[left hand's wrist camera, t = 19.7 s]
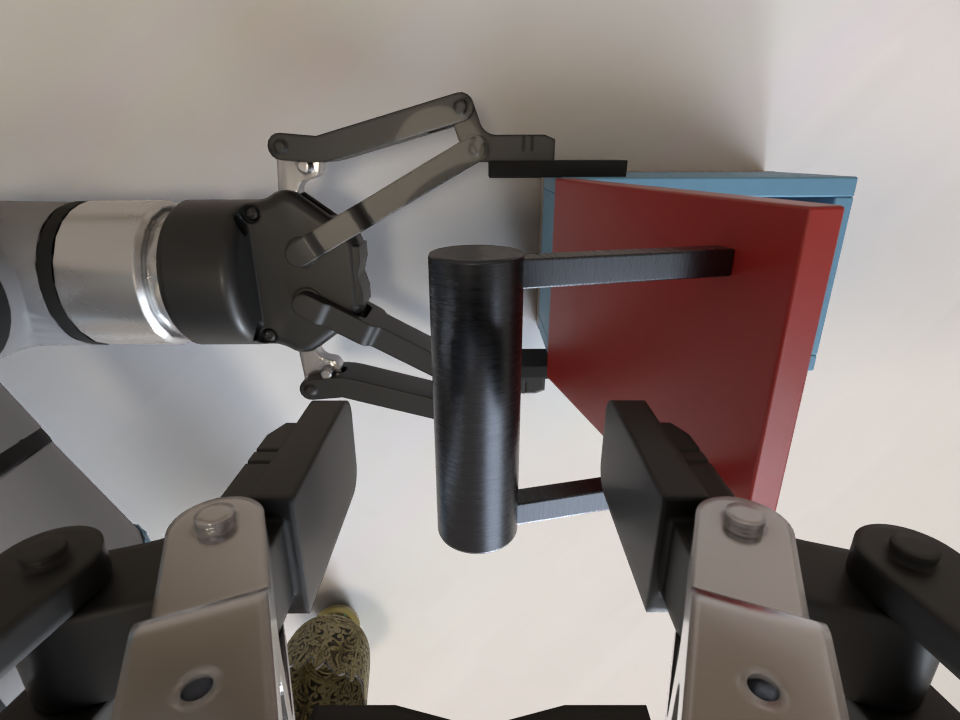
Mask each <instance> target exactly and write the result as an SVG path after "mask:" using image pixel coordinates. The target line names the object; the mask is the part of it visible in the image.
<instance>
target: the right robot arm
mask: <svg viewBox="0 0 960 720" xmlns="http://www.w3.org/2000/svg"><path fill="white" fill-rule="evenodd" d="M451 127H454V128H455V130H456V133H457V136H458V139H459V143H457V144H456V145H454V146H452V147H451V148H449V149H447V150H446V151H444V152H443V153H441V154H439V155H438V156H436V157H434V158H433V159H431V160H429V161H428V162H426V163H424V164H423V165H421V166H419V167H418V168H416V169H414V170H413V171H411V172H410V173H408V174H406V175H405V176H403V177H401V178H400V179H398V180H396V181H395V182H393V183H391V184H390V185H388V186H386V187H385V188H383V189H381V190H380V191H378V192H377V193H375V194H373V195H372V196H370V197H368V198H367V199H365V200H363V201H362V202H360V203H358V204H357V205H355V206H353V207H351V208H350V209H348V210H346V211H345V212H343V213H341V214H340V215H337V214H336V213H334V212H333V211H331V210H330V209H329V208H327V207H326V206H324V205H323V204H321V203H320V202H318V201H317V200H316V199H314V198H313V197H311V196H310V195H308V194H307V193H305V192H304V186H305V184H306V183H307V181H309V180H310V179H314V178H318V177H320V176H321V175H322V174H323V172H324V167H325V166H324V162H333V161H340V160H345V159H348V158H352V157H355V156H358V155H362V154H365V153H368V152H372V151H375V150H378V149H381V148H385V147H388V146H391V145H395V144H398V143H401V142H405V141H408V140H411V139H415V138H418V137H421V136H425V135H428V134H431V133H435V132H438V131H441V130H445V129H448V128H451ZM268 149H269V152H270V153H271V155H272V156H273V157H274V158H276V159H277V168H278V188H279V191H278V192H276V193H274V194H273V195H271V196H269V197H268V198H265V199H258V200H186V201H183V202H181V203H179V204H178V203H175V202H173V201H170V200H90V201H76V202H28V201H0V358H2V357H4V356H7V355H9V354H11V353H14V352H16V351H18V350H21V349H25V348H29V347H34V346H41V345H89V344H102V345H108V344H159V345H178V344H186V343H188V342H190V341H192V342H195V343H197V344H269V343H278V344H282V345H285V346H288V347H290V348H292V349H294V350H296V351H299V352H300V357H301V361H302V366H303V371H304V375H305V379H304V381H303V382H302V383H301V386H300V392H301V394H302V395H303V396H304V397H305V398H307V399H311V400H315V399H327V398H340V397H344V398H348V399H352V400H356V401H360V402H365V403H369V404H373V405H377V406H382V407H386V408H390V409H394V410H398V411H403V412H407V413H411V414H415V415H420V416H424V417H428V418H432V419H434V404H433V381H431V380H427V379H423V378H419V377H415V376H410V375H406V374H402V373H398V372H394V371H390V370H386V369H382V368H378V367H374V366H369V365H365V364H360V363H354V362H343V360H342V358H341V357H340V356H338V355H335V354H330V353H327V352H326V351H325V350H324V349H323V348H322V344H324V343H325V342H326V341H328V340H329V339H330V338H332V337H333V336H334V335H336V334H337V333H338V334H340V335H342V336H344V337H346V338H348V339H350V340H352V341H354V342H356V343H358V344H361V345H364V346H372V347H374V348H376V349H378V350H381V351H383V352H385V353H387V354H389V355H391V356H393V357H395V358H397V359H399V360H401V361H403V362H405V363H407V364H409V365H411V366H413V367H415V368H417V369H419V370H421V371H423V372H425V373H427V374H429V375H431V376H432V349H431V336H429V335H427V334H425V333H423V332H421V331H419V330H417V329H415V328H413V327H411V326H409V325H407V324H406V323H404V322H402V321H400V320H398V319H396V318H394V317H392V316H390V315H388V314H387V313H386V312H385V311H384V310H383V309H382V308H380V307H378V306H376V305H374V304H372V303H371V302H369V301H368V300H369V298H370V297H371V293H370V283H369V280H368V277H367V274H366V271H365V265H366V260H367V255H368V254H367V241H364V240H363V237H362V235H361V234H360V233H361V232H362V231H364V230H366V229H367V228H369V227H370V226H372V225H374V224H375V223H377V222H379V221H380V220H382V219H384V218H385V217H387V216H389V215H391V214H392V213H394V212H396V211H397V210H399V209H401V208H402V207H404V206H406V205H407V204H409V203H411V202H412V201H414V200H416V199H417V198H419V197H421V196H422V195H424V194H426V193H427V192H429V191H431V190H433V189H434V188H436V187H438V186H439V185H441V184H443V183H444V182H446V181H448V180H449V179H451V178H453V177H454V176H456V175H458V174H459V173H461V172H463V171H464V170H466V169H468V168H470V167H471V166H473V165H475V164H476V163H478V162H489V178H561V177H626V171H627V160H554V150H555V139H553V138H551V137H549V136H546V135H492V134H489V133H487V132H486V131H485V130H484V129H483V128H482V126H481V124H480V122H479V119H478V116H477V113H476V110H475V107H474V104H473V101H472V99H471V97H470V96H469V95H468V94H466V93H463V92H460V93H454V94H451V95H448V96H445V97H441V98H438V99H435V100H432V101H428V102H425V103H422V104H419V105H415V106H412V107H409V108H406V109H402V110H399V111H396V112H393V113H389V114H386V115H383V116H380V117H376V118H373V119H370V120H367V121H363V122H360V123H357V124H354V125H350V126H347V127H344V128H341V129H337V130H334V131H331V132H328V133H324V134H321V135H318V136H310V135H298V134H286V133H276V134H274V135H272V136H271V137H270V139H269V140H268ZM547 360H548V353H547V350H546V349H522V359H521V393H537V392H540V391H543V390H544V388H545V379H549V378H548V377H547ZM79 525H80V526H90V527H94V528H96V529H98V530H99V531H100V532H102V534H103V536H104V539H105V543H106V546H107V549H108V550H112V549H117V548H122V547H127V546H132V545H137V544H142V543H147V542H151V541H150V538H149V537H148V535H147V532H146V531H144V530H143V529H142V528H141V527H140V526H139V525H136V524H132V523H131V522H130V520H129V519H128V518H127V517H126V516H125V515H124V514H123V513H122V512H121V511H120V510H119V509H118V508H117V507H116V506H115V505H114V504H113V503H112V502H111V501H110V500H109V499H108V498H107V497H106V496H105V495H104V494H103V493H102V492H101V491H100V490H99V489H98V488H97V487H96V486H95V485H94V484H93V483H92V482H91V481H90V480H89V479H88V478H87V477H86V476H85V475H84V473H83V472H82V471H81V470H80V469H79V468H78V467H77V466H76V465H75V464H74V463H73V462H72V461H71V460H70V459H69V458H68V457H67V456H66V455H65V454H64V453H63V452H62V451H61V450H60V449H59V448H58V447H57V446H56V445H55V444H54V443H53V442H52V440H51V438H50V437H49V436H48V434H47V433H46V432H45V431H44V430H43V429H42V428H41V426H40V425H39V424H38V423H37V422H36V421H35V420H34V418H33V417H32V416H31V415H30V414H29V413H28V412H27V411H26V410H25V409H24V408H23V407H22V406H21V404H20V403H19V402H18V401H17V400H16V399H15V398H14V397H13V396H12V395H11V394H10V393H9V392H8V391H7V389H6V388H5V387H4V386H3V385H2V384H1V383H0V554H1V553H2V552H4V551H5V550H7V549H8V548H10V547H11V546H13V545H15V544H17V543H19V542H21V541H23V540H25V539H27V538H29V537H31V536H34V535H37V534H39V533H42V532H45V531H49V530H52V529H56V528H61V527H67V526H79ZM23 690H25V687H24V685H23V683H22V680H21V678H20V676H19V673H18V671H17V669H16V666H15V667H14V668H13V669H12V670H10V671H9V672H8V673H7V674H6V675H5V676H4V677H3V678H1V679H0V712H1V711H3V710H4V709H5V708H6V707H7V706H8V705H9V704H10V703H11V702H12V701H13V700H14V699H15V698H16V697H17V696H18V695H19V694H20V693H21V692H22V691H23Z"/></svg>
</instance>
